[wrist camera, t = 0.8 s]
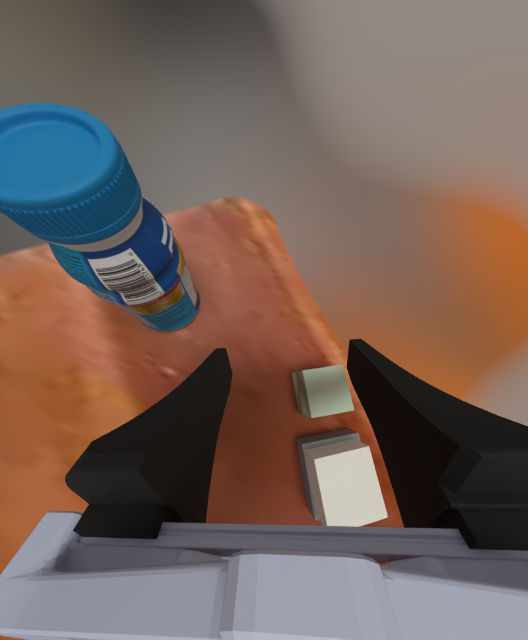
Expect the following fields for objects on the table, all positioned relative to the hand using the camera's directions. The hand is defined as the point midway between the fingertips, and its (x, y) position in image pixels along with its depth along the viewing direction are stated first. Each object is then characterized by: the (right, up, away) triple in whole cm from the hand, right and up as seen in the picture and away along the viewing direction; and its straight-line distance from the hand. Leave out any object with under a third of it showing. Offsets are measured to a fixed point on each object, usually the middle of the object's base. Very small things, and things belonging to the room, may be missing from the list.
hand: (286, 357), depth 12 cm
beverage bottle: (-14, +4, +17) cm, 22 cm away
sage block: (+5, -7, +15) cm, 18 cm away
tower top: (+7, -15, +10) cm, 19 cm away
